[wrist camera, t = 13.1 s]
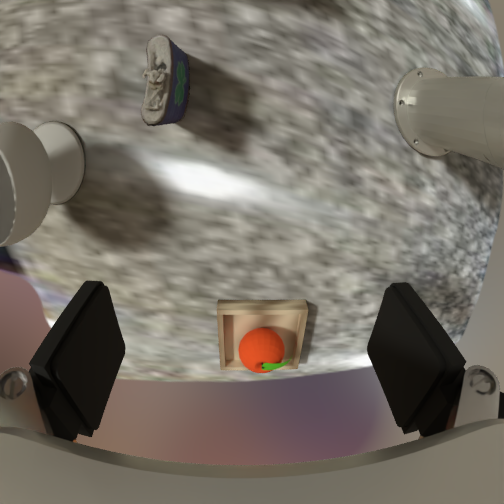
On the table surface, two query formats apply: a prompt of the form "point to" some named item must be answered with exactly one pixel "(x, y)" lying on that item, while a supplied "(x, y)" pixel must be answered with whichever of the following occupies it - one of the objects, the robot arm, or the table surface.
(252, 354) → the clementine
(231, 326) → the tray
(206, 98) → the table surface
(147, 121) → the flask
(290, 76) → the table surface
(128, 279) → the table surface
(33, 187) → the chalice
